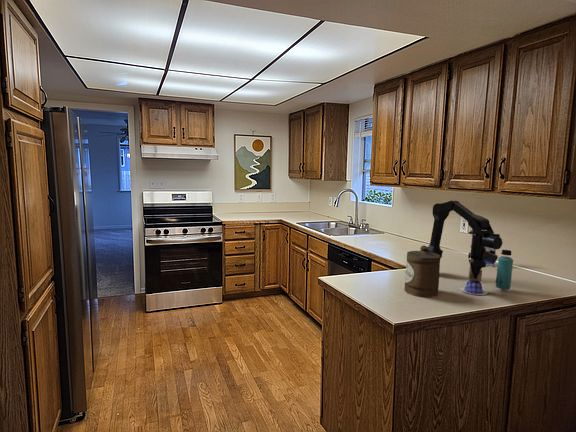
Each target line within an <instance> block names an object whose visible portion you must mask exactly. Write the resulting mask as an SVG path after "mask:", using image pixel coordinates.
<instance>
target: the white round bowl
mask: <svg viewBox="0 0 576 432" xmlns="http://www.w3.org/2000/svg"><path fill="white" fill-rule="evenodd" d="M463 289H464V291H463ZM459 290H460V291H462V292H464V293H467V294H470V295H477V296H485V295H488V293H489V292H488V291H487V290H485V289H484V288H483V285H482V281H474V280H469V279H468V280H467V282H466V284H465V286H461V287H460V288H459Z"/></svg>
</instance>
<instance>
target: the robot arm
mask: <svg viewBox="0 0 576 432" xmlns="http://www.w3.org/2000/svg"><path fill="white" fill-rule="evenodd" d="M452 211H454V212H455V213H456V214H457V215H458V216H460V217H461V218H462V219H464V220H465V221H466V223H467V225H468V226H469V228H471V230H470V231H468V235H469V234H470V235H471V244H470V252H469V253H468V254H467V258H468V263H469V268H470V267H471V270H472V273H473V277H474V279H477V276H478V274H479V271H480V269H483V268H486V267H487V266H486V262H485V261H484V260H485V258H486V259H488V260H490V261H492V262H493V263H494V264H496V261H498V258H499V256H498V255H497V254H496V253H495V254H494V251H493V250H490V251H486V249H485V247H489V248H493V249H496V250H500V249H501V248H502V246H503V243H504V242H503V239H502V237H500V236H501V235H500V234H499V233H495V232H494V230H493V228H492V226H491V224H490V220H489V219H488V218H486V217H484V216H482V215H478V214H476V213H474V212H473V211H472V210H470V209H469V208H467V207H466V206H464V205H463V204H461V202H460V201H458V200H449V201H445V202H442V203H441V202H440V203H439V202H438V203H435V204H433V206H432V217H433V219H434V220H433V225H432V226H433V227H432V229H431V230H432V231H431V236H430V241H429V245H428V246H427V247H428V250H427V251H428V252H432V253H436V254H439V255H440V260H441V259H442V258H443V253H444V251H443V249H441V240H442V235H443V231H444V225H445V221H446V220H447V218H448V217H449V215H450V212H452Z"/></svg>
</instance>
